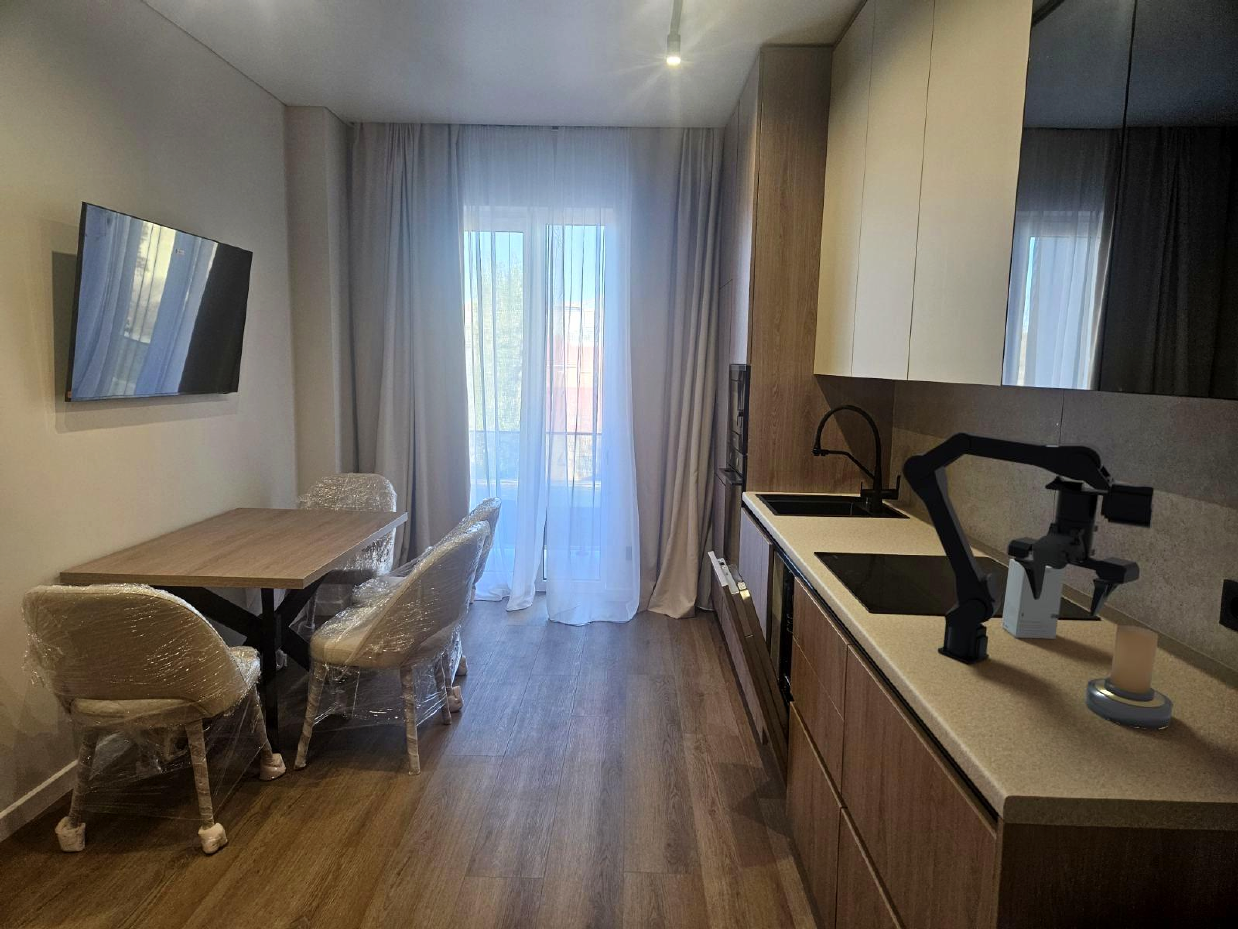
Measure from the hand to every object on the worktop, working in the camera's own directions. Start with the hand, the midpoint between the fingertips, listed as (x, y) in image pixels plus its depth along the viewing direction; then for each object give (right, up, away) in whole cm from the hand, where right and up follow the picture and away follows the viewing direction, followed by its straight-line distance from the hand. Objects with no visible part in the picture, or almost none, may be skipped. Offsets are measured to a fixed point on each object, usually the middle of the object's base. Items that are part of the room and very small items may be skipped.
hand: (1063, 607), depth 122 cm
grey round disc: (+4, -15, -9) cm, 18 cm away
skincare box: (+7, -10, +23) cm, 26 cm away
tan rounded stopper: (+4, -11, -10) cm, 15 cm away
